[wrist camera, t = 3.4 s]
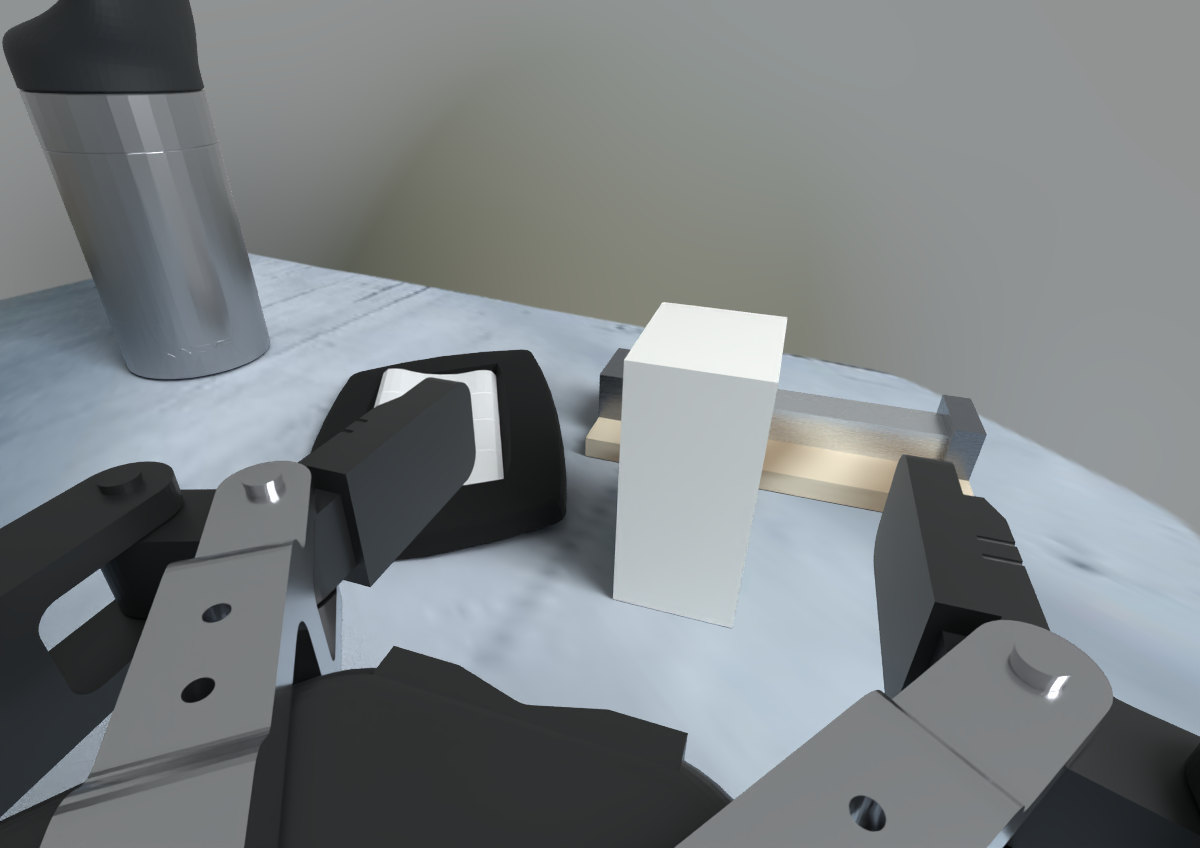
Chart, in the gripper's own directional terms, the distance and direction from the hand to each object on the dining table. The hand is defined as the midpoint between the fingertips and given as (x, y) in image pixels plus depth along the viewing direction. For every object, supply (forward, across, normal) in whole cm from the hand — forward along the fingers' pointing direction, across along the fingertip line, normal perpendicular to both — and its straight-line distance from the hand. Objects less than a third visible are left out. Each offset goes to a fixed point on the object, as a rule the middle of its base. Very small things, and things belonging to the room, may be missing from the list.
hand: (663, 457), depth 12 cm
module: (+12, -1, -13) cm, 18 cm away
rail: (+23, +2, -12) cm, 26 cm away
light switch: (+17, -16, -13) cm, 27 cm away
